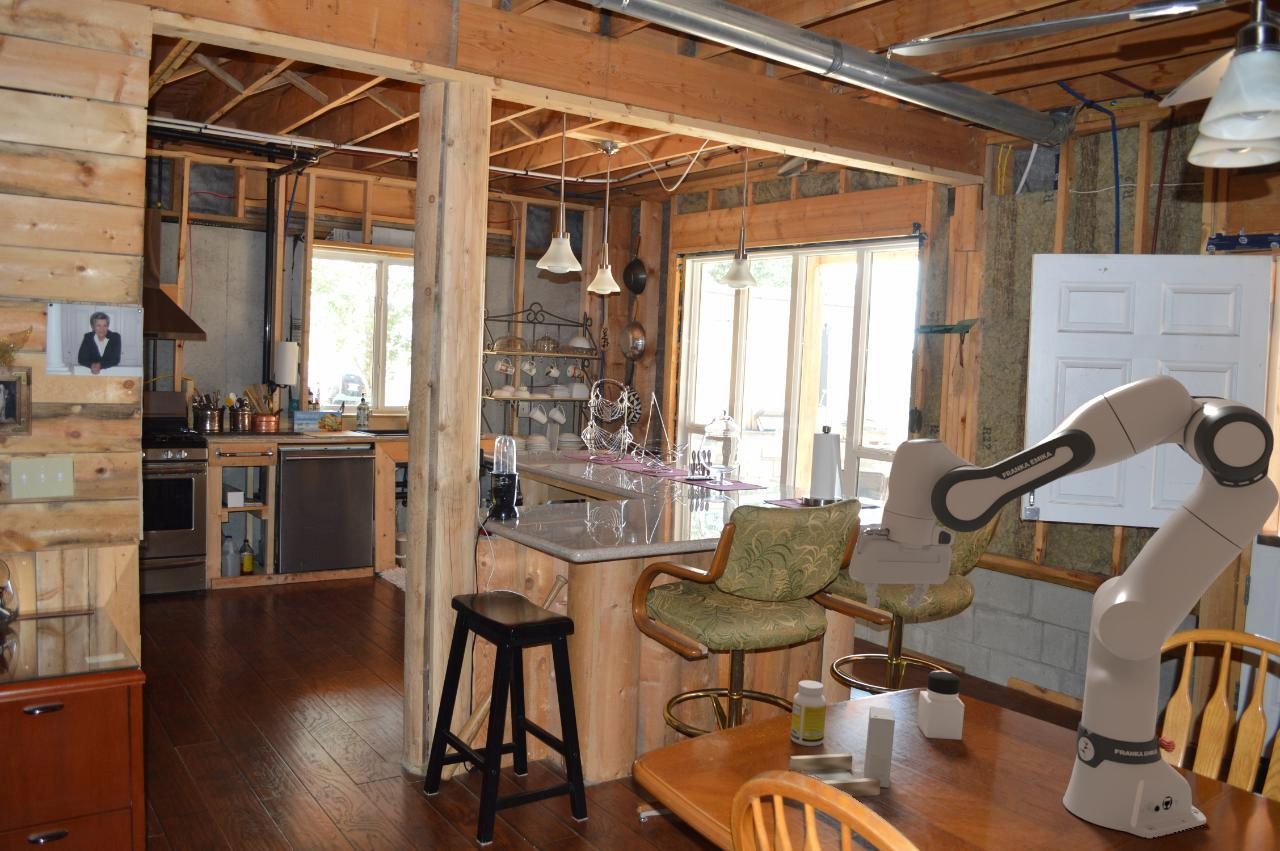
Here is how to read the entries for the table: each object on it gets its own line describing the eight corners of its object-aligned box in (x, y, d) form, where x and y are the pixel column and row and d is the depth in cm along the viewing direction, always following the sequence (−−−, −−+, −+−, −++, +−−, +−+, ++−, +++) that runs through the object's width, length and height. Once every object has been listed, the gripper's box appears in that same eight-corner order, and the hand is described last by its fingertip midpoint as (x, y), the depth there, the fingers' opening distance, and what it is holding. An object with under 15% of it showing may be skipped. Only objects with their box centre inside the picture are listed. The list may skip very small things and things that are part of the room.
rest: (848, 766, 183) (849, 753, 183) (879, 794, 172) (880, 780, 172) (789, 770, 180) (790, 756, 180) (816, 798, 169) (817, 784, 169)
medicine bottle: (962, 740, 200) (967, 680, 199) (925, 738, 200) (931, 678, 199) (951, 726, 207) (957, 668, 206) (916, 724, 207) (921, 666, 206)
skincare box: (889, 788, 175) (895, 720, 174) (864, 785, 176) (869, 717, 175) (888, 774, 181) (893, 708, 180) (863, 771, 182) (869, 705, 181)
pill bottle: (828, 740, 195) (832, 683, 195) (815, 750, 190) (820, 692, 189) (798, 731, 199) (802, 676, 198) (785, 741, 194) (789, 684, 193)
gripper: (872, 532, 169) (858, 613, 170) (962, 536, 179) (948, 612, 180) (848, 523, 175) (835, 601, 176) (936, 527, 185) (923, 601, 186)
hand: (893, 607), depth 178 cm, fingers open, 8 cm apart
